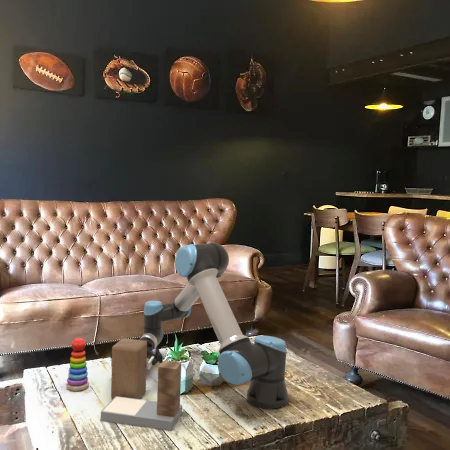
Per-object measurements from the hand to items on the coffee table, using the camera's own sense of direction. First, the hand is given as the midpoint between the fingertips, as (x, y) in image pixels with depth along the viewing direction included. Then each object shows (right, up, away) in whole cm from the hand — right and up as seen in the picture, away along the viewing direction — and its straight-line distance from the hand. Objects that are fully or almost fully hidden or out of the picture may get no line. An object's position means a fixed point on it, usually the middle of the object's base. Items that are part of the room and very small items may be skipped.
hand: (130, 364), depth 183 cm
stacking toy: (-20, -10, +4) cm, 23 cm away
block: (0, -11, -2) cm, 11 cm away
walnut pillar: (+16, -10, -18) cm, 26 cm away
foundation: (+7, -13, -16) cm, 22 cm away
